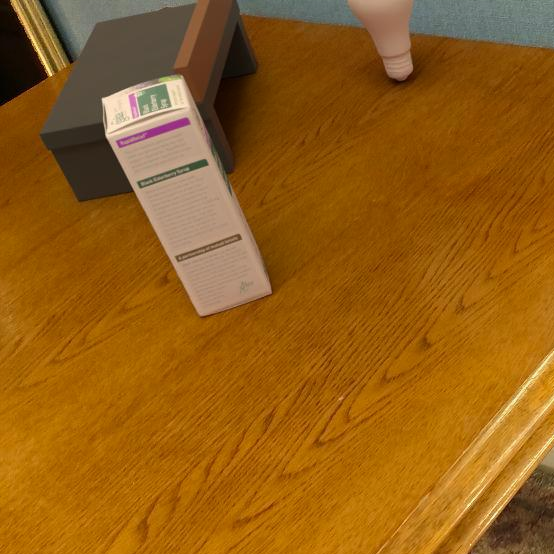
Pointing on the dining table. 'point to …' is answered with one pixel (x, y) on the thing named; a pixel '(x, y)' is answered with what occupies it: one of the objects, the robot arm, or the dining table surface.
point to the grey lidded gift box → (138, 69)
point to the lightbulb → (388, 32)
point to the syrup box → (185, 193)
